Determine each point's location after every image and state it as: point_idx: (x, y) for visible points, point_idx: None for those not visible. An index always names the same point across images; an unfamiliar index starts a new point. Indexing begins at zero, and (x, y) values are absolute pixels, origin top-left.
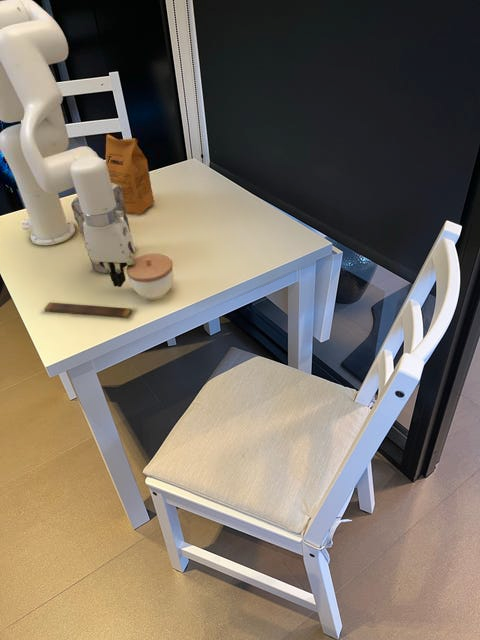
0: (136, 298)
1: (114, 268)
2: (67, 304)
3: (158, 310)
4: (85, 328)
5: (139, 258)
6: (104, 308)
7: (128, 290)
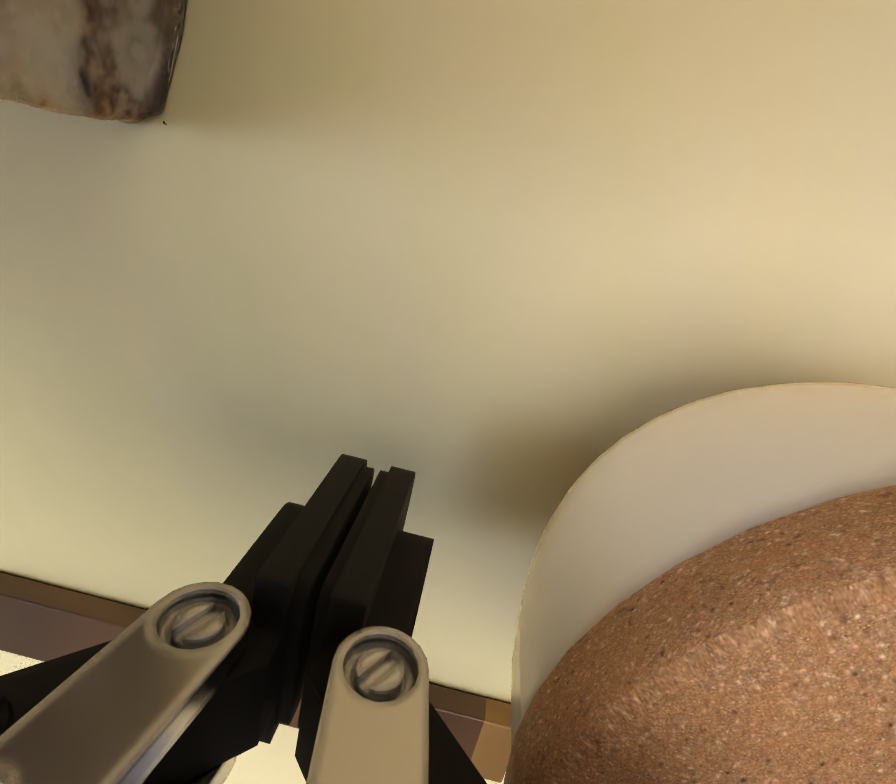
0: None
1: (266, 698)
2: (15, 607)
3: None
4: (249, 780)
5: (802, 727)
6: None
7: (451, 460)
